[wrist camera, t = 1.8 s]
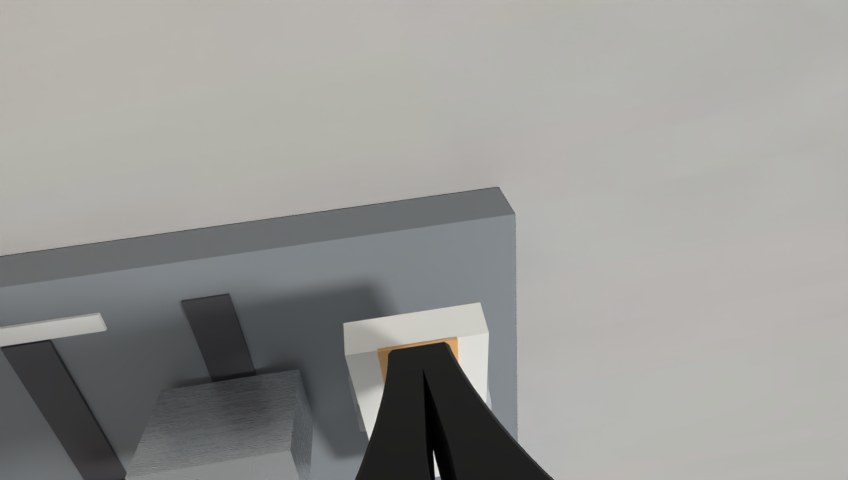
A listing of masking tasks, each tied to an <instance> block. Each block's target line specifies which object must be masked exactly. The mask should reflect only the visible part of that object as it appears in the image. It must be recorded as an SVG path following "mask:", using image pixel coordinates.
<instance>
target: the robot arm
mask: <svg viewBox="0 0 848 480" xmlns="http://www.w3.org/2000/svg"><path fill="white" fill-rule="evenodd" d="M433 451H434V455H435V459H436V463H437V467H438V471H439V474H440V478H441V480H554V479H553V478H552V477H550V476H549V475H548V474H547V473H546V472H545V471H544V470H543V469H542V468H541V467H540V466H539V465H538V464H537V463H536V462H535V461H534V460H533V459H532V458H531V457H530V456H529V455H528V454H527V452H526V451H525V450H524V449H523V448H522V447H521V446H520V445H519V444H518V443H517V441H516V440H515V439H514V438H513V437H512V436H511V435H510V433H509V432H508V431H507V430H506V429H505V427H504V426H503V425H502V424H501V423H500V422H499V420H498V419H497V418H496V416H495V415H494V414H493V413H492V411H491V410H490V409H489V407H488V406H487V405H486V403H485V402H484V401H483V399H482V398H481V397H480V395H479V394H478V393H477V391H476V390H475V388H474V387H473V385H472V384H471V382H470V381H469V379H468V378H467V376H466V375H465V373H464V371H463V370H462V368H461V366H460V365H459V363H458V361H457V359H456V358H455V356H454V354H453V352H452V350H451V347H450V345H449V344H447V343H446V342H439V343H432V344H426V345H420V346H413V347H407V348H401V349H394V350H392V351H391V352H390V353H389V354H388V366H387V374H386V380H385V385H384V390H383V395H382V399H381V403H380V407H379V410H378V414H377V418H376V422H375V425H374V428H373V431H372V434H371V437H370V440H369V443H368V446H367V449H366V452H365V455H364V458H363V460H362V463H361V465H360V468H359V471H358V473H357V476H356V478H355V480H435V469H434V455H433Z"/></svg>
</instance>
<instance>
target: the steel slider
mask: <svg viewBox="0 0 848 480" xmlns="http://www.w3.org/2000/svg"><path fill="white" fill-rule="evenodd" d="M313 424H314V420H313V416H312V412H311V409H310V405H309V402H308V398H307V395H306V391H305V388H304V384H303V380H302V377H301V373H300V370H299V369H295V370H289V371H282V372H276V373H270V374H263V375H257V376H250V377H244V378H238V379H231V380H225V381H219V382H212V383H206V384H200V385H193V386H187V387H180V388H174V389H168V390H161V391H160V393H159V396H158V398H157V401H156V403H155V406H154V408H153V410H152V413H151V415H150V418H149V420H148V423H147V425H146V428H145V430H144V432H143V435H142V437H141V440H140V442H139V445H138V447H137V450H136V452H135V454H134V457H133V459H132V462H131V464H130V467H129V469H128V471H127V474H126V476H125V479H126V480H310V468H311V453H312V438H313Z"/></svg>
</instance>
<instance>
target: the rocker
mask: <svg viewBox="0 0 848 480" xmlns="http://www.w3.org/2000/svg"><path fill="white" fill-rule="evenodd" d="M343 326H344V348H345V358H346V361H347V365H348V368H349V372H350V375H351V379H352V382H353V386H354V389H355V393H356V396H357V400H358V403H359V404H357V416H358V424H359V429H360V432H362V431H367V435H368V438H369V440H370V437H371V434H372V431H373V428H374V425H375V422H376V418H377V414H378V410H379V407H380V403H381V399H382V395H383V390H384V385H385V380H386V374H387V366H388V354H389V353H390V352H391V351H392V350H394V349H401V348H407V347H413V346H420V345H426V344H432V343H439V342H446V343H447V344H449V345H450V347H451V350H452V352H453V354H454V356H455V358H456V359H457V361H458V363H459V365H460V366H461V368H462V370H463V371H464V373H465V375H466V376H467V378H468V379H469V381H470V382H471V384H472V385H473V387H474V388H475V390H476V391H477V393H478V394H479V395H480V397H481V398H482V399H483V401H484V402H485V403H486V405H487V406H488V407H489V409H490V410H491V409H492V406H491V398H490V393H489V389H488V386H487V370H488V345H489V331H488V328H487V324H486V321H485V317H484V314H483V310H482V307H481V303H480V302H479V303H472V304H466V305H459V306H453V307H446V308H439V309H433V310H426V311H420V312H413V313H407V314H400V315H394V316H387V317H381V318H374V319H367V320H361V321H354V322H348V323H343ZM433 455H434V451H433ZM434 469H435V477H439V476H440V474H439V471H438V467H437V463H436V459H435V455H434Z"/></svg>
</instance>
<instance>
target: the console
mask: <svg viewBox="0 0 848 480" xmlns="http://www.w3.org/2000/svg"><path fill="white" fill-rule="evenodd" d="M479 302H480V303H481V307H482V310H483V314H484V317H485V321H486V324H487V328H488V331H489V345H488V370H487V386H488V389H489V393H490V398H491V406H492V409H491V411H492V413H493V414H494V415H495V416H496V418H497V419H498V420H499V422H500V423H501V424H502V425H503V426H504V427H505V429H506V430H507V431H508V432H509V433H510V435H511V436H512V437H513V438H514V439H515V440H516V441H517V443H518V438H517V330H516V222H515V212H514V211H513V209H512V208H511V206H510V204H509V203H508V201H507V199H506V198H505V196H504V194H503V193H502V191H501V190H500V188H499V187H496V188H488V189H481V190H474V191H467V192H460V193H453V194H445V195H438V196H431V197H424V198H417V199H410V200H402V201H395V202H388V203H381V204H374V205H367V206H359V207H352V208H345V209H338V210H331V211H324V212H316V213H309V214H302V215H295V216H288V217H281V218H273V219H266V220H259V221H252V222H245V223H238V224H230V225H223V226H216V227H209V228H202V229H194V230H187V231H180V232H173V233H166V234H159V235H151V236H144V237H137V238H130V239H123V240H116V241H108V242H101V243H94V244H87V245H80V246H73V247H65V248H58V249H51V250H44V251H37V252H30V253H22V254H15V255H8V256H1V257H0V480H126V479H125V476H126V474H127V471H128V469H129V467H130V464H131V462H132V459H133V457H134V454H135V452H136V450H137V447H138V445H139V442H140V440H141V437H142V435H143V432H144V430H145V428H146V425H147V423H148V420H149V418H150V415H151V413H152V410H153V408H154V406H155V403H156V401H157V398H158V396H159V393H160V391H161V390H168V389H174V388H180V387H187V386H193V385H200V384H206V383H212V382H219V381H225V380H231V379H238V378H244V377H250V376H257V375H263V374H270V373H276V372H282V371H289V370H295V369H299V370H300V373H301V377H302V380H303V384H304V388H305V391H306V395H307V398H308V402H309V405H310V409H311V412H312V416H313V420H314V424H313V438H312V453H311V468H310V480H355V478H356V476H357V473H358V471H359V468H360V465H361V463H362V460H363V458H364V455H365V452H366V449H367V446H368V443H369V438H368V435H367V431H362V432H360V429H359V424H358V416H357V404H359V403H358V400H357V396H356V393H355V389H354V386H353V382H352V379H351V375H350V372H349V368H348V365H347V361H346V358H345V348H344V326H343V323H348V322H354V321H361V320H367V319H374V318H381V317H387V316H394V315H400V314H407V313H413V312H420V311H426V310H433V309H439V308H446V307H453V306H459V305H466V304H472V303H479ZM435 480H441V478H440V476H439V477H435Z"/></svg>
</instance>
